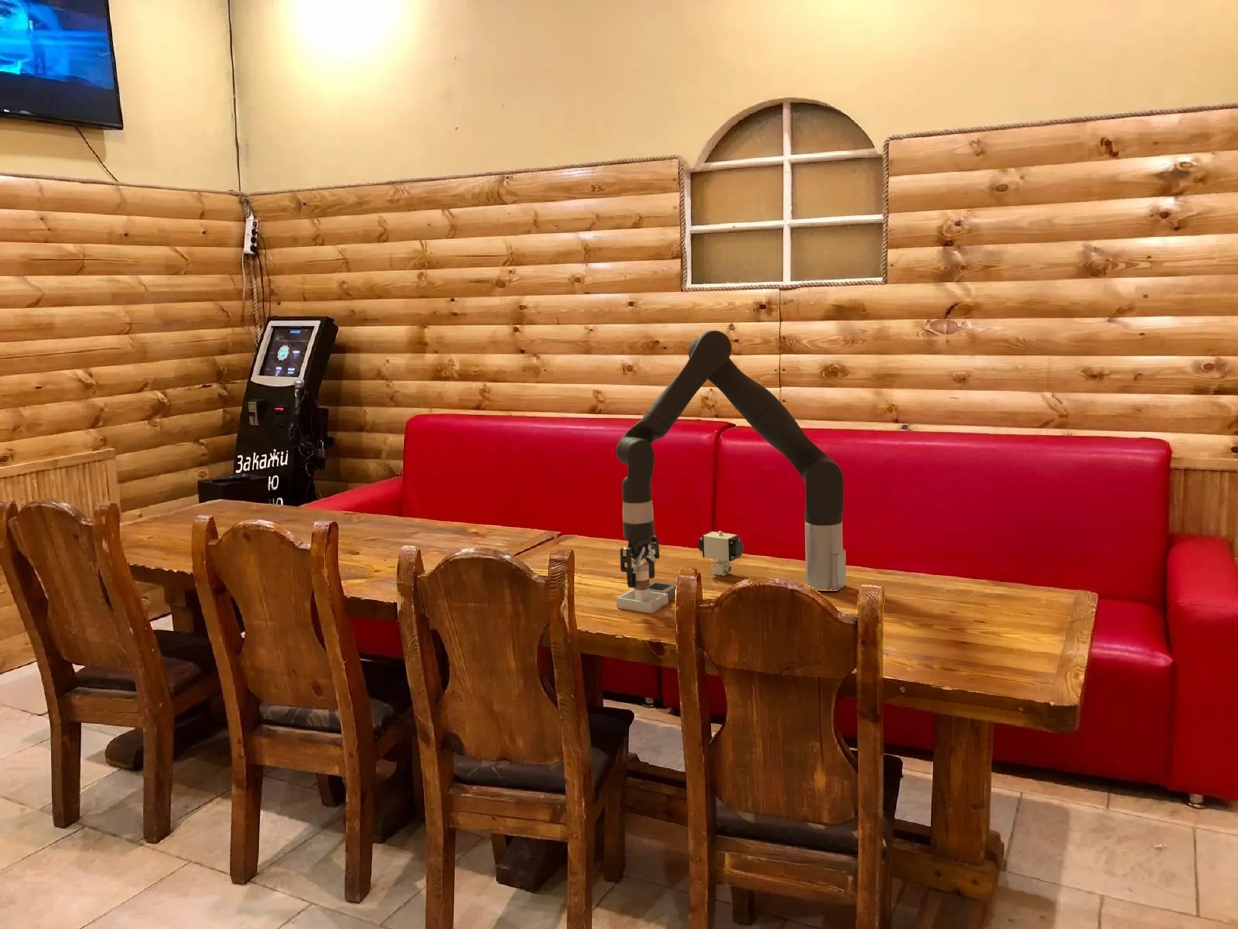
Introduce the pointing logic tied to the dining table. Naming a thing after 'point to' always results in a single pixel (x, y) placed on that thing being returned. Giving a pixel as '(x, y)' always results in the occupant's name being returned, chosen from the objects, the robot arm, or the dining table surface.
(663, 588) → the dark gray recessed holder
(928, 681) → the dining table surface
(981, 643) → the dining table surface
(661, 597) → the tray
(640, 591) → the fuse
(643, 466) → the robot arm
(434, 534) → the dining table surface
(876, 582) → the dining table surface
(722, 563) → the pneumatic valve
